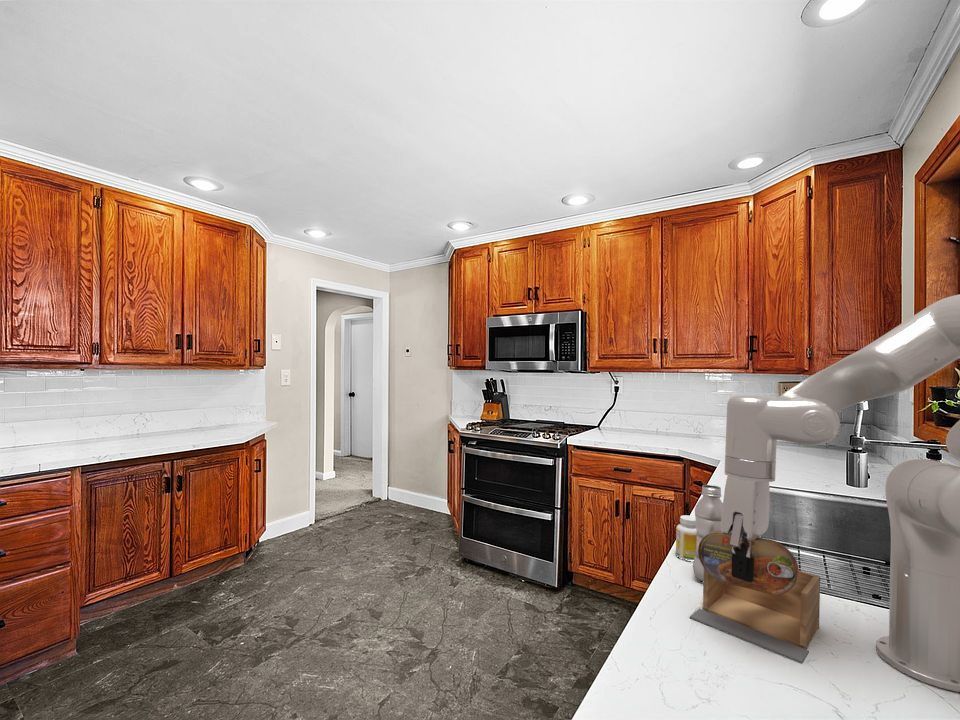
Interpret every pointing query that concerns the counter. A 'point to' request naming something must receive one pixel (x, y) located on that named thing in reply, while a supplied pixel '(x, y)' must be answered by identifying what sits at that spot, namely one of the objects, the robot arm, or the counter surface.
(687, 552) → the supplement bottle
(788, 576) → the tin
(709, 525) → the plastic bottle
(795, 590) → the cabinet carcass
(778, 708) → the counter surface
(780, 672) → the counter surface
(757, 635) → the flat grey bar
